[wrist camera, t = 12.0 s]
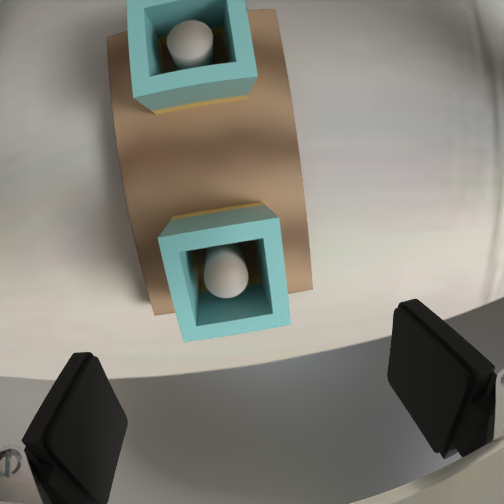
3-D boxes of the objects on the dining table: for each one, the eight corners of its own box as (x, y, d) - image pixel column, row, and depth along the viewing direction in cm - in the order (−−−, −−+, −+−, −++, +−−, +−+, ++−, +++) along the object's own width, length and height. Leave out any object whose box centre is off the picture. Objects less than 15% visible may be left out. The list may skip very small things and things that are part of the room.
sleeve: (272, 284, 23) (291, 324, 17) (190, 297, 22) (183, 342, 17) (262, 201, 21) (279, 217, 15) (173, 216, 21) (157, 237, 15)
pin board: (305, 279, 25) (335, 320, 19) (158, 304, 24) (141, 352, 18) (270, 19, 19) (290, -25, 12) (114, 45, 18) (81, 10, 12)
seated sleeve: (246, 99, 19) (257, 76, 13) (156, 114, 19) (133, 97, 13) (234, 22, 17) (241, -20, 11) (147, 37, 17) (126, -1, 11)
